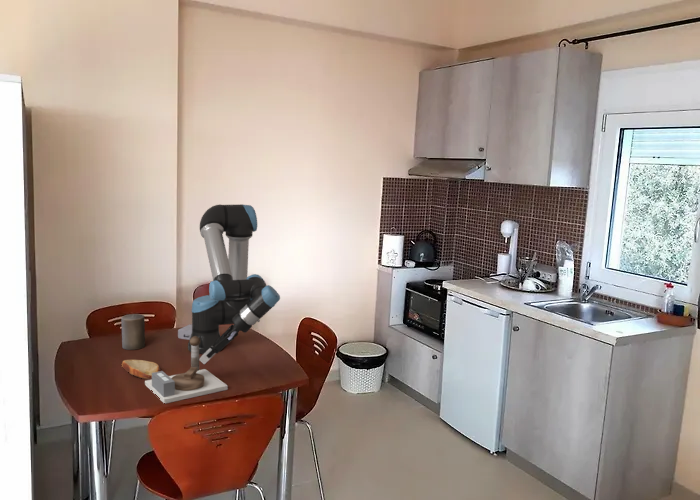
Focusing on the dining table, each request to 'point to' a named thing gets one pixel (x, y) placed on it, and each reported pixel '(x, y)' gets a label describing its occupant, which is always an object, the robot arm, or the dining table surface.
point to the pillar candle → (133, 331)
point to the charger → (185, 332)
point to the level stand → (168, 393)
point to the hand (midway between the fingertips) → (202, 360)
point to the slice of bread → (141, 368)
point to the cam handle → (191, 370)
